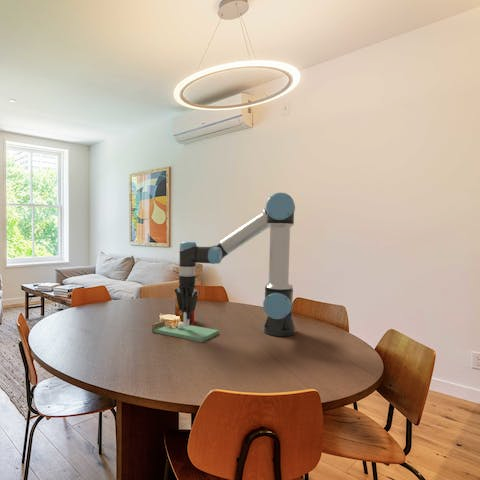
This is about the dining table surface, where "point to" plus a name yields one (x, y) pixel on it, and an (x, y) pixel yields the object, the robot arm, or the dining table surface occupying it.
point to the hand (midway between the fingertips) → (186, 325)
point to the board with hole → (185, 331)
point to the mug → (179, 313)
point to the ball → (180, 325)
